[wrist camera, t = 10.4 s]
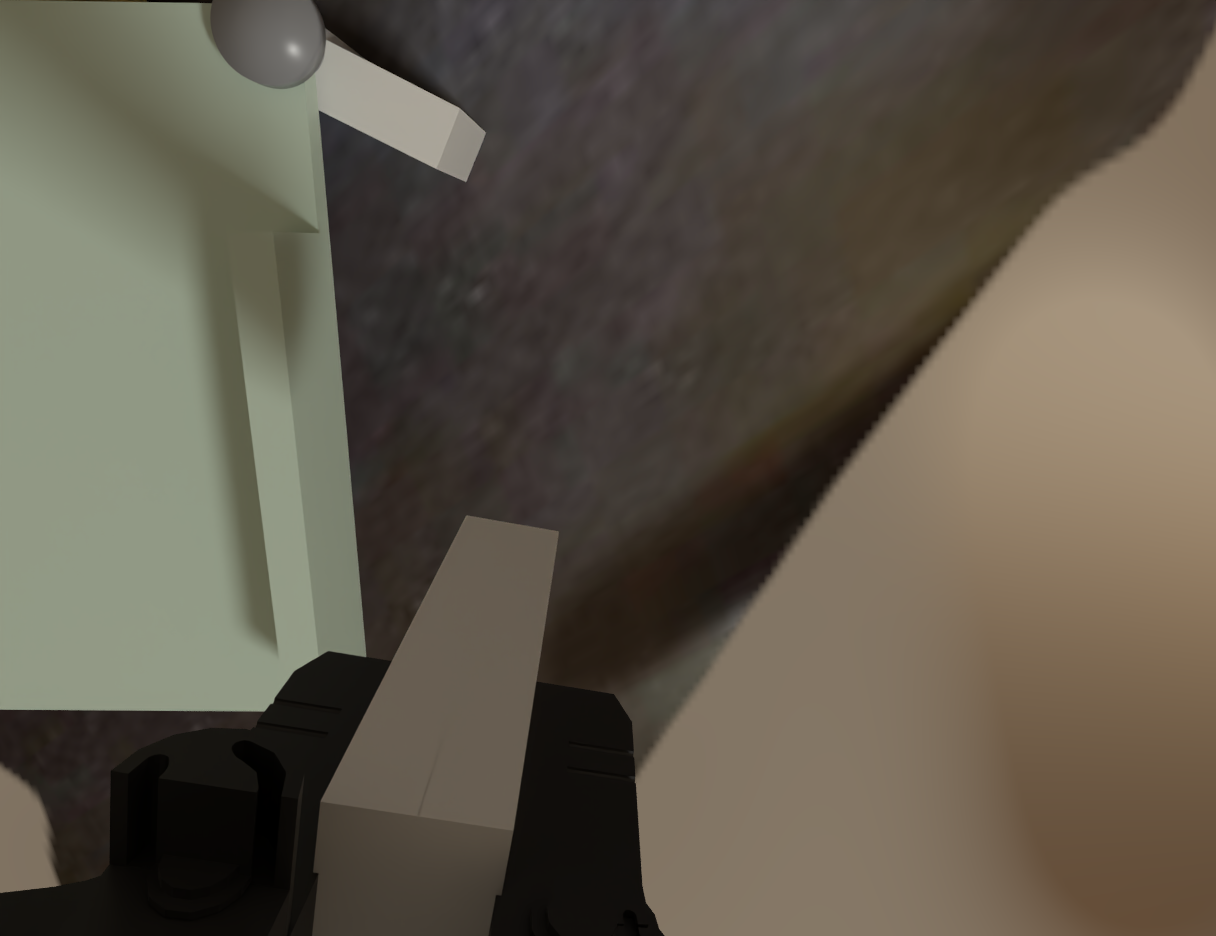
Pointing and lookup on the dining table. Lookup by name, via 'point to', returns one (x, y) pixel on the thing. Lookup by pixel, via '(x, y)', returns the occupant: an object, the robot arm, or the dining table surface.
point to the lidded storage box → (395, 111)
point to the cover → (167, 359)
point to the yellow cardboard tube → (102, 0)
